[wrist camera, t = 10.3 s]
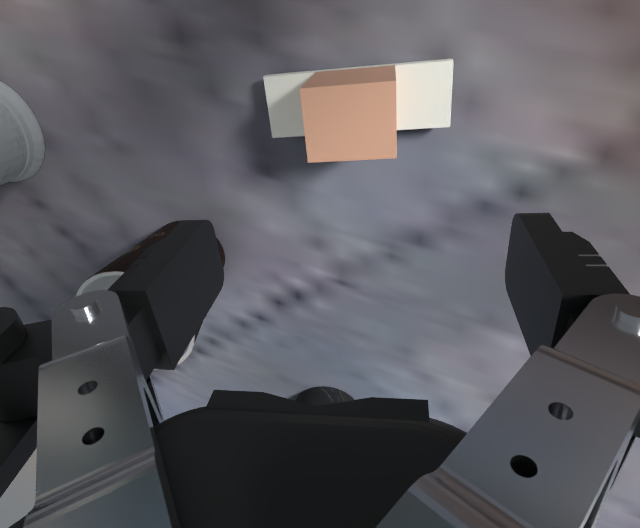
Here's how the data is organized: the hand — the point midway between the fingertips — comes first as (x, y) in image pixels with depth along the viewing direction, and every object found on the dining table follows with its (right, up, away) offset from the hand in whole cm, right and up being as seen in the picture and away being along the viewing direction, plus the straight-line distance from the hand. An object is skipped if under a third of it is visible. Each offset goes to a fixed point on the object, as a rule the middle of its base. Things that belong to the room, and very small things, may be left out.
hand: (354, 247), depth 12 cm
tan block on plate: (+2, +11, +18) cm, 21 cm away
